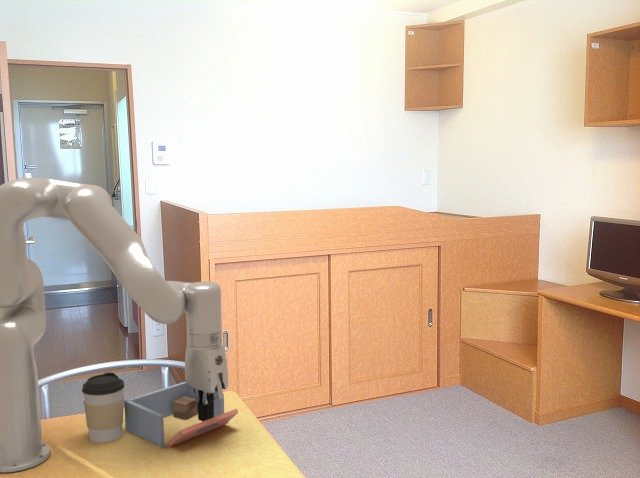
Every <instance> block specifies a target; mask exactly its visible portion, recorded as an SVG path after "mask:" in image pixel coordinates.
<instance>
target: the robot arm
mask: <svg viewBox="0 0 640 478" xmlns="http://www.w3.org/2000/svg"><path fill="white" fill-rule="evenodd" d="M38 218H50V219H56V220H57V219H58V220H59V219H60V220H65V221H69V222H70V223H71V224H72V225H73V226H74V228H75V229H76V230H77V231H78V232H79V234H80V235H81V236H83V238H84V239H86V241H87V242H88V243H89V244H90V245H91V246H92V247H93V249H94V250H95V251H96V252H97V253H98V254H99V255H100V257H101V258H102V259H103V260H104V261H105V263H107V265H108V267H109V268H110V270H111V272H112V273H113V274H114V276H115V277H116V278H117V280H118V282H119V283H120V285H121V286H122V288H123V289H124V290H125V291H126V293H127V294H128V295H129V297H130V298H131V299H132V300H133V301H134V303H136V304H137V306H138V307H139V309H141V310H142V311H143V312H144V314H146V316H147V317H148V318H149V319H150V320H152V321H154V322H155V323H157V324H160V325H169V324H172V323H175V322H176V321H178V320H179V319H180V318H181V316H182V314H183V313H184V314H185V317H186V347H185V356H184V357H185V358H184V377H185V381H186V383H187V384H188V385H189V388H190V389H191V390H192V391H194V393H195V396H196V401H197V402H199V403H198V413H197V419H198V421H201V422H203V421H205V420H208V419H211V418H213V417H214V402H215V401H216V399H220V398H223V394H224V391H223V390H227V389H228V388H229V371H228V361H227V355H226V350H225V346H224V345H223V335H222V334H223V331H222V330H223V329H222V328H223V327H222V289H221V286H220V284H218V283H217V282H215V281H195V282H185V281H177V280H166V279H165V278H164V277H163V276H162V274H161V273H160V272H159V271H158V270H157V268H156V267H155V265H154V264H153V263H152V261H151V260H150V258H149V255H148V253H147V251H146V248H145V244H144V243H143V241H142V239H141V237H140V236H139V234H138V233H137V232H136V231H135V230H134V229H133V228H132V227H131V226H130V224H129V223H128V222H127V221H126V220H125V218H124V217H122V215H121V214H120V213H119V212H118V211H117V209H116V208H115V207H114V206H113V200H112V198H111V195H110V194H109V193H108V191H107V190H106V189H104V188H103V187H101V186H99V185H94V184H86V183H78V182H71V181H66V180H59V179H52V178H47V177H46V178H45V177H21V178H16V179H12V180H9V181H7V182H4V183H2V184H1V185H0V473H14V472H20V471H25V470H29V469H32V468H34V467H36V466H38V465H41V464H42V463H44V462H45V461H46V460H47V459H48V458H49V457H50V455H51V447H50V446H49V445H48V444H46V443H45V442H43V437H42V421H41V406H40V405H41V404H40V403H41V402H40V391H39V390H40V387H39V378H38V368H37V363H36V358H35V353H34V346H35V345H36V344H37V343H38V342H39V341H40V340H41V339H42V337H43V336H44V334H45V331H46V326H47V313H46V303H45V302H46V298H45V288H44V286H45V285H44V277H43V273H42V271H41V269H40V267H39V266H38V264H37V263H36V262H35V261H33V259H31V258H28V256H27V240H26V236H25V230H24V226H25V223H26V222H28V221H31V220H33V219H38Z"/></svg>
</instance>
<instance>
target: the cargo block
mask: <svg viewBox="0 0 640 478" xmlns="http://www.w3.org/2000/svg"><path fill="white" fill-rule="evenodd" d="M172 415H173V417H174V418H177V419H181V420H183V421H186V420H189V419H191V418H193V417H195V416H198V413H197V401H196V399H193V398H189V397H185V396H184V397H182V398H180V399H178V400H175V401H173V414H172Z"/></svg>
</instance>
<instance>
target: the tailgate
mask: <svg viewBox="0 0 640 478" xmlns="http://www.w3.org/2000/svg"><path fill="white" fill-rule="evenodd" d="M237 414H239V411H238V409H237V408H234V409H232V410H230V411H227V412H224V414H221V415H218V416H216V417H213V418H211V419H208V420H205V421H201V422H198V423H196V424H192V425H190V426H188V427H185V428H183V429H180V430H179V431H178V432H177V433H176V434H175V435H174V436H173V437H172V438H170V440H169V441H168V442H166V445H167V448H168V447H170V448H171V447H173V446H176V445H178V444H180V443H184V442H186V441H188V440H191V439H193V438H195V437H198V436H200V435H203V434H205V433H208V432H210V431H213V430H216V429H218V428H220V427H223V426H226V425H227V424H228V423H229V422H230V421H231V420H232V419H233V418H234V417H236V415H237ZM227 422H228V423H227ZM226 423H227V424H226Z"/></svg>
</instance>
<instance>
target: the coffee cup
mask: <svg viewBox="0 0 640 478" xmlns="http://www.w3.org/2000/svg"><path fill="white" fill-rule="evenodd" d="M124 383H125V381H124V380H123V379H122V378H120V377H119V375H117V374H116V373H114V372H109V371H108V372H104V373H103V374H98V375H94V376H91V377H89V378H87V380H86V382H84V383H83V384H82V390H81V391H82V393H83V406H84V413H85V420H86V427H87V430H88V437H89V440H90V442H92V443H95V444H96V443H98V444H102V443H103V444H105V443H111V442H114V441H117V440H119V439H120V438H121V437H122V436H123V423H124V413H125V408H124V401H125V395H124V388H125V384H124Z"/></svg>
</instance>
